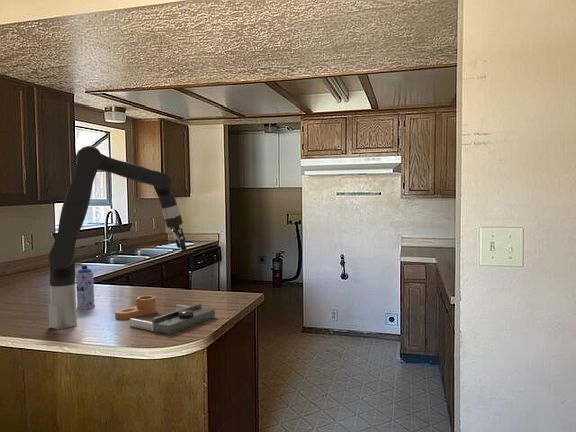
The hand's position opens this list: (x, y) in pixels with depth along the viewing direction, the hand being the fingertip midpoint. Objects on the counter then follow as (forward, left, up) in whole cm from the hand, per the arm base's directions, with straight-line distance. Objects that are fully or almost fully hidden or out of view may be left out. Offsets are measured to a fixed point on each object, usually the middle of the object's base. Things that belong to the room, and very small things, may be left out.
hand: (182, 248), depth 202 cm
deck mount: (-18, -12, -28) cm, 36 cm away
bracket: (-18, +11, -29) cm, 36 cm away
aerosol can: (-21, +43, -28) cm, 56 cm away
